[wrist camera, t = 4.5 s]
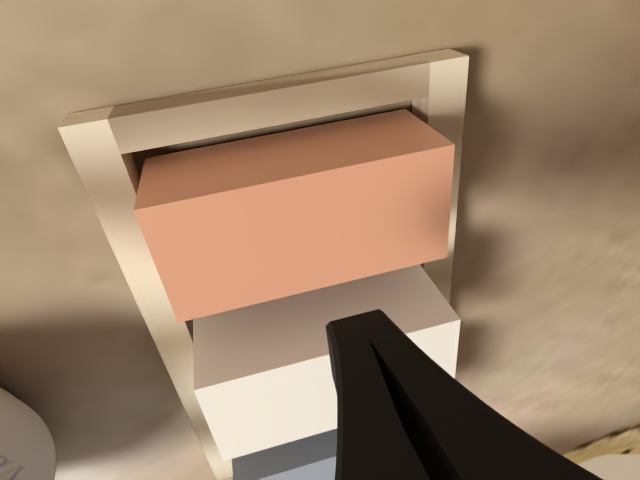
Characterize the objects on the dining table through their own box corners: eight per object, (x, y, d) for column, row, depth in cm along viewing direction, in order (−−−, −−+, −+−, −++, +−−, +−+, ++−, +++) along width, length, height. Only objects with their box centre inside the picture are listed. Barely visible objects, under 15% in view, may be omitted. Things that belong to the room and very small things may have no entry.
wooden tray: (430, 394, 29) (440, 414, 28) (215, 456, 27) (216, 480, 26) (448, 48, 17) (469, 55, 16) (68, 113, 15) (57, 127, 14)
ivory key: (414, 330, 22) (453, 394, 19) (218, 382, 21) (223, 461, 18) (416, 259, 20) (460, 319, 17) (193, 313, 19) (193, 390, 15)
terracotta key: (404, 207, 20) (447, 257, 17) (180, 257, 18) (177, 322, 15) (405, 109, 17) (454, 144, 14) (145, 157, 16) (133, 210, 13)
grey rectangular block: (413, 408, 26) (445, 473, 23) (245, 457, 25) (253, 534, 21) (414, 357, 24) (450, 421, 20) (227, 408, 22) (233, 486, 19)
